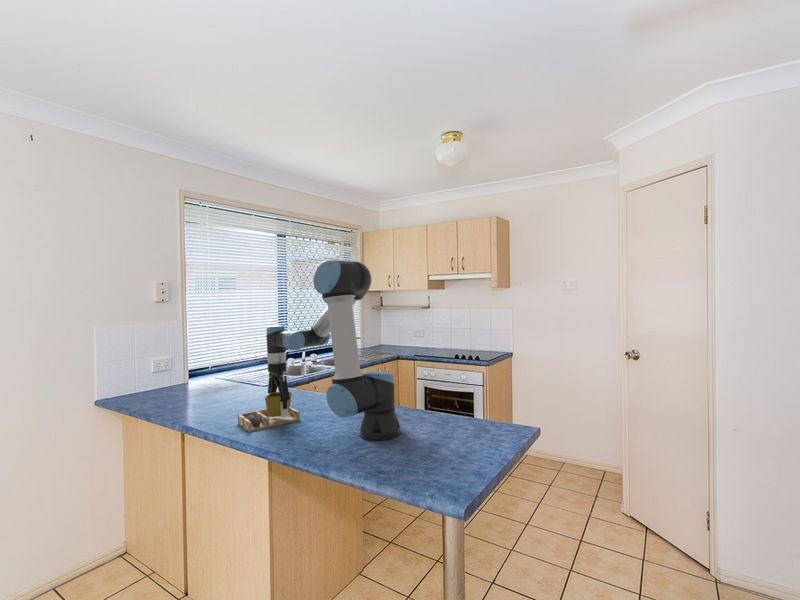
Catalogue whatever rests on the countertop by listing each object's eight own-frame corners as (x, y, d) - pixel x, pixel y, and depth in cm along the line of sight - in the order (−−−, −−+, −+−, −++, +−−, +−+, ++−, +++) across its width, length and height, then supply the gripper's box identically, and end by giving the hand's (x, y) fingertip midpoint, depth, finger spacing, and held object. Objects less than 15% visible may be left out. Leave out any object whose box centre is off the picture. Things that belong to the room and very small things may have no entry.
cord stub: (261, 426, 160) (261, 419, 160) (254, 427, 158) (254, 420, 158) (253, 420, 168) (252, 413, 168) (246, 421, 167) (246, 415, 167)
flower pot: (265, 418, 164) (264, 397, 164) (272, 412, 172) (271, 392, 172) (286, 418, 163) (285, 396, 163) (292, 412, 172) (291, 391, 172)
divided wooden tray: (299, 420, 168) (299, 411, 168) (249, 432, 155) (248, 422, 155) (286, 413, 180) (285, 404, 180) (238, 423, 167) (237, 414, 167)
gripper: (296, 364, 161) (298, 417, 161) (275, 358, 179) (277, 406, 180) (278, 366, 156) (280, 421, 156) (258, 360, 175) (260, 409, 175)
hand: (279, 413), depth 168 cm, fingers closed on flower pot, 11 cm apart
